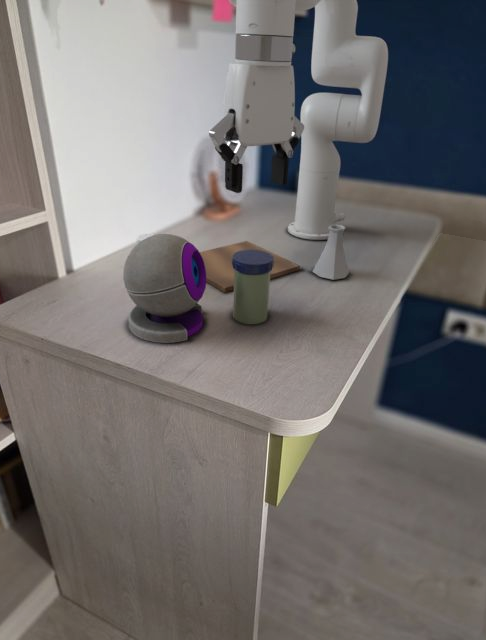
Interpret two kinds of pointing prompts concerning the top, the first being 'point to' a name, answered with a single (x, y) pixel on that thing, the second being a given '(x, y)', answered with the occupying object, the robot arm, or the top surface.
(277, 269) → the mat
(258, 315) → the jar
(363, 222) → the top surface
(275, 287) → the top surface
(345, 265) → the flask
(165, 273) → the webcam
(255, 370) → the top surface
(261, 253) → the lid
